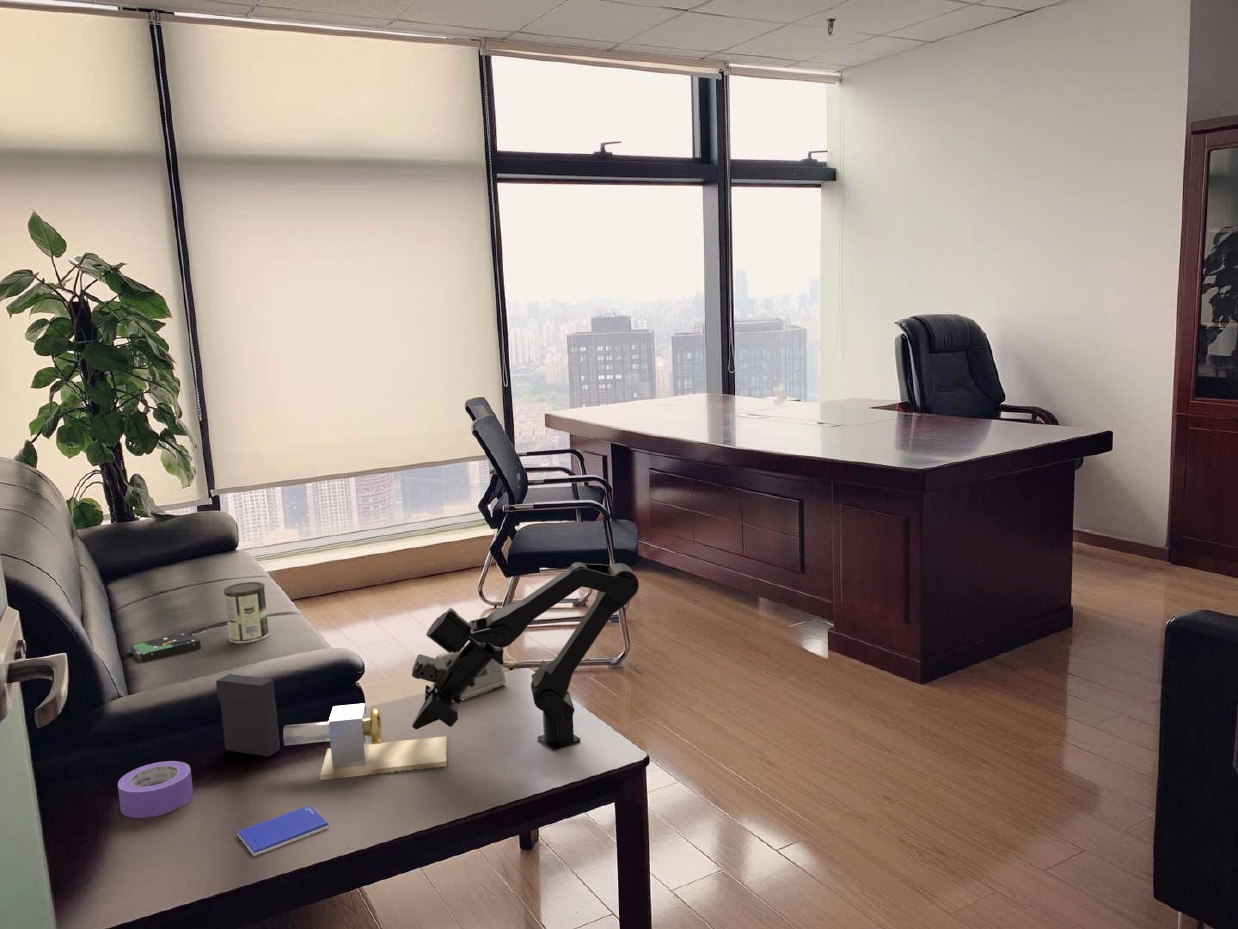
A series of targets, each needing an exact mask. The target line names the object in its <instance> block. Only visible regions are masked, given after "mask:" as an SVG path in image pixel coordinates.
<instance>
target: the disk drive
mask: <svg viewBox="0 0 1238 929" xmlns="http://www.w3.org/2000/svg"><path fill="white" fill-rule="evenodd" d="M201 646H202V645H201V640H200V639H199V638H198V637H196V636H195V635H194V634H193V633H192V632H191V631H184V632H180V633H177V634H173V635H172V634H171V635H168V636H163V637H158V638H154V639H150V640H146V641H141V642H137V643H132V644H130V653H131V654H132V655H133V656H134V658H136V659H137V661H138V662H140V663H144V662H149V661H153V660H156V659H161V658H165V657H170V656H174V655H178V654H182V653H186V652H190V651H191V652H192V651H195V650H199V649H201V648H202V647H201Z"/></svg>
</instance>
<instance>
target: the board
mask: <svg viewBox="0 0 1238 929" xmlns="http://www.w3.org/2000/svg"><path fill="white" fill-rule="evenodd" d="M447 739H448V738H447V736H434V737H427V738H425V737H424V738H418V739H417V738H416V739H407V740H398V741H396V740H395V741H388V742H382V744H372V743H368V747H369V750H368V755H367V760H366V765H363V766H354V767H345V768H336V769H333V767H332V755H331V747H330V748H327V749H326V753H325V756H324V761H323V764H322V766H321V767H322V768H321V771H320V774H319V775H320V776H319V778H320V781H324V780H325V781H326V780H333V779H335V780H336V779H343V778H352V777H353V778H354V777H361V776H368V774H371V775H375V774H374V773H380V774H387V773H388V772H390V773H395V772H394V771H399V772H406V770H408V771H414V770H413V769H417V770H424V769H423V768H426V769H431V768H430V767H435V768H441V767H447V760H448V758H447V754H448V753H447V752H448V751H447V748H448V746H447V745H448V744H447V742H448V740H447ZM401 770H403V771H401ZM404 770H405V771H404Z"/></svg>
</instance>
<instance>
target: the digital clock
mask: <svg viewBox="0 0 1238 929" xmlns="http://www.w3.org/2000/svg"><path fill="white" fill-rule="evenodd" d="M465 646H466V645H465ZM465 646H464V647H465ZM464 647H463V648H464ZM494 647H495V646H494ZM463 648H462V649H463ZM462 649H461V650H460V651H459V652H456V653H453V652H451V653H448V652H447V651H446V652H443V653H441V654H438V655H436V657H435V659H438V660H440V661H442V662H445V663H446V662H447V661H448V660H449V658H450V659H451V658H452V657H453V658H454V659H455V657H456V656H457V655H458V654H459V653H460V652H461V651H462ZM506 682H507V680H506V675H505V671H504V667H503V665H500V664H499V663H498V662H496V661H495V660H494V659H493V660H492V661H491V662H490V663H489V665H488V666H487V667H486V668H485V669H484V670H483V671H482V673H481V674H480V675H479V676H478V677H477V678H476V679H475V685H474V686H473V687H470V686H469V688H468V689H467V690H466V691H465V692H464V693H463V694H462V696H461V700H462V699H466V698H469V697H472V696H474V695H477V694H480V693H483V694H485V692H486V691H489V690H491V689H497V688H499V687H502V686H504V685H506ZM491 691H492V690H491ZM489 692H490V691H489ZM486 693H487V692H486ZM480 695H481V694H480ZM477 696H478V695H477ZM474 697H475V696H474ZM472 698H473V697H472ZM469 699H470V698H469ZM466 700H467V699H466ZM452 702H453V703H454V704H455V703H456V702H455V701H453V700H452Z"/></svg>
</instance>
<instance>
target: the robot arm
mask: <svg viewBox="0 0 1238 929" xmlns="http://www.w3.org/2000/svg"><path fill="white" fill-rule="evenodd" d="M639 587H640V585H639V579H638V578H637V576H636V574H635V573H634V571H633V570H632V569H631V567H630V566H629V565H627V564H626V563H622V562H617V563H613V564H611V565H610V564H603V563H584V562H580V561H577V562H574V563H572V564H571V565H570V566H569V567H568V568H567V569H565V570H563V571H562V572H561V573H559V574H558V575H556V576H555V577H554V578H552V579H550V580H549V581H548V582H546V583H545V584H543V585H542V586H540V587H539V588H538V589H536V590H535V591H533V592H531V593H530V594H528V595H527V596H526V597H524V598H523V599H522V600H518V601H517V602H513V603H510V604H506V605H505V606H503V607H500V608H498V609H496V610H493V611H492V612H490V613H489V614H488V615H487V616H485V617H481V618H477V619H473V620H470V621H469V622H468V621H466V619H464V618H463V617H461V616H460V615H459V614H458V613H457V611H456V610H455V609H453V608H452V607H449V608H448V610H446V611H445V612H443V613H442V614H441V615H440V616H438V617H437V618H436V619H435V620H434V621H433V623H432V624H431V625H430V627H429V628H428V630H427V631H426V634H425V635H426V637H427V638H429V639H430V640H432V641H433V642H434V643H435V644H437V645H438V646H440V647H441V648H442V649H443V650H444V651H446V653H447V652H448V653H451V652H453V653H456V652H459V651H460V650H461V649H462V648H463V647H464V646H465V647H464V648H463V649H462V651H461V652H460V653H459V654H458V655H457V656H456V657H455V659H454V658H453V657H452V658H451V659H450V658H449V660H448V661H447V662H446V663H445V662H442V661H440V660H438V659H436V658H434V657H431V656H428V655H424V654H421V653H420V654H417V656H416V659H415V661H414V664H413V666H412V670H411V671H412V673H411V676H412V677H413V678H415V679H418V680H420V679H421V680H423V681H427V682H430V683H432V684H431V685H430V686H429V685H427V684H426V685H425V691H424V692H425V693H424V701H423V704H422V706H421V707H420V710H419V711H418V713H417V715H416V717H415V718H414V721H413V723H412V728H413V729H415V730H419V729H421V728H423V727H425V726H427V725H430V724H432V723H435V722H437V721H441V722H442V723H443V724H445V725H446V726H448V727H449V728H452V727H453V726H454V725H455V724H456V722H458V720H459V711H458V710H459V709H458V704H459V703H460V702H462V701H461V696H462V694H463V693H464V692H465V691H466V690H467V689H468V688H469V686H470V687H473V686H474V685H475V679H476V678H477V677H478V676H479V675H480V674H481V673H482V671H483V670H484V669H485V668H486V667H487V666H488V665H489V663H490V662H491V661H492V660H493V659H494V660H495V661H496V662H498V663H499V664H500V665H502V666H504V664H505V663H504V653H505V652H504V648H506V647H508V646H509V647H510V645H511V644H512V643H514V642H515V641H516V640H517V638H519V637H520V636H521V635H522V634H523V632H525V630H526V629H527V627H528V626H529V625H530V624H531V623H532V622H533V620H536V619H537V618H538V617H540V616H541V615H543V614H544V613H545V612H547V611H548V610H550V609H551V608H553V607H554V606H556V605H557V604H558V603H560V602H561V601H562V600H564V599H565V598H567V597H568V596H570V595H572V594H574V593H575V592H576V591H577V590H579V589H580V588H587V589H591V590H595V591H597V593H596V596H595V599H594V601H593V603H592V604H591V605H590V607H589V609H588V610H587V611H586V613H585V614H584V616H583V618H582V619H581V620H580V622H579V623H578V624H577V627H576V628H575V630H574V631H573V632H572V633H571V635H570V637H569V638H568V639H567V641H566V643H565V644H564V646H563V648H561V650H560V652H559V653H558V654H557V656H556V657H555V659H553V660H552V661H550V662H549V663H547V662H546V661H545V660H541V662H540V664H539V666H538V668H537V669H536V671H535V672H534V673H533V674H531V679H532V680H531V683H530V690H531V695H532V699H533V702H534V705H535V707H536V708H538V709H539V710H540V711H542V724H543V725H542V726H543V734H542V735H539V736H537V741H539V742H540V743H542V744H543V745H544V746H546V747H547V748H548V749H550V750H552V751H556V750H560V749H562V748H566V747H569V746H573V745H575V744H577V743H580V742H581V738H580V737H579V736H577V735H576V734H575V733H574V713H575V706H574V703H573V700H572V697H571V694H570V692H569V691H568V690H569V687H570V684H571V680H572V677H573V675H574V672H575V671H576V669H577V668H578V666H579V665H580V663H581V662H582V660H584V657H585V656H586V654H587V653H588V652H589V650H590V648H591V647H592V646H593V644H594V643H595V641H596V640H597V638H598V636H599V635H600V634H601V632H602V631H603V629H604V628H605V627H606V625H607V623H608V622H609V621H610V619H611V617H612V616H613V615H614V614H615V613H617V612H618V611H619V610H621V609H622V608H623V607H625V606H626V605H627V604H628V603H629V601H631V600H632V599H633V598H634V597H635V595H636V594H637V593H638V590H639ZM494 646H495V647H494ZM452 700H453V701H455V702H454V703H453V702H452Z"/></svg>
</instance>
